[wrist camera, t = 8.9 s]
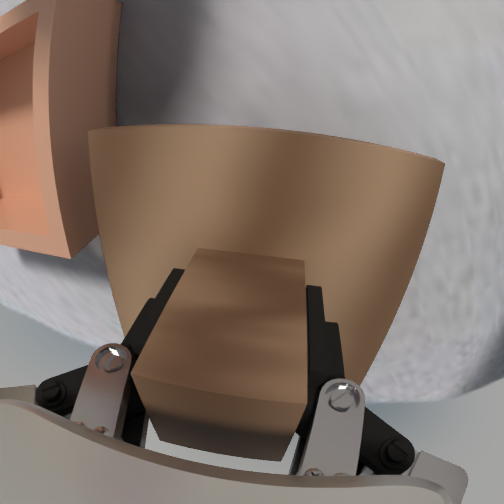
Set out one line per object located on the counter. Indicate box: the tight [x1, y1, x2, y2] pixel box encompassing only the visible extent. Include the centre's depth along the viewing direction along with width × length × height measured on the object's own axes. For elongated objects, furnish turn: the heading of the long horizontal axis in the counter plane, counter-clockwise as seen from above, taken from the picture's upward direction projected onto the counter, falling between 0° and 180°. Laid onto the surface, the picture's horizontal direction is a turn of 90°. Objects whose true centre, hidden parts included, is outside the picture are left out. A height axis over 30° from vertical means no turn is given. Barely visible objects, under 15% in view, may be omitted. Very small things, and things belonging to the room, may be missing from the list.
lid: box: [88, 124, 445, 461], centre depth 10 cm, size 13×13×7 cm
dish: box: [0, 0, 122, 259], centre depth 11 cm, size 12×12×5 cm
